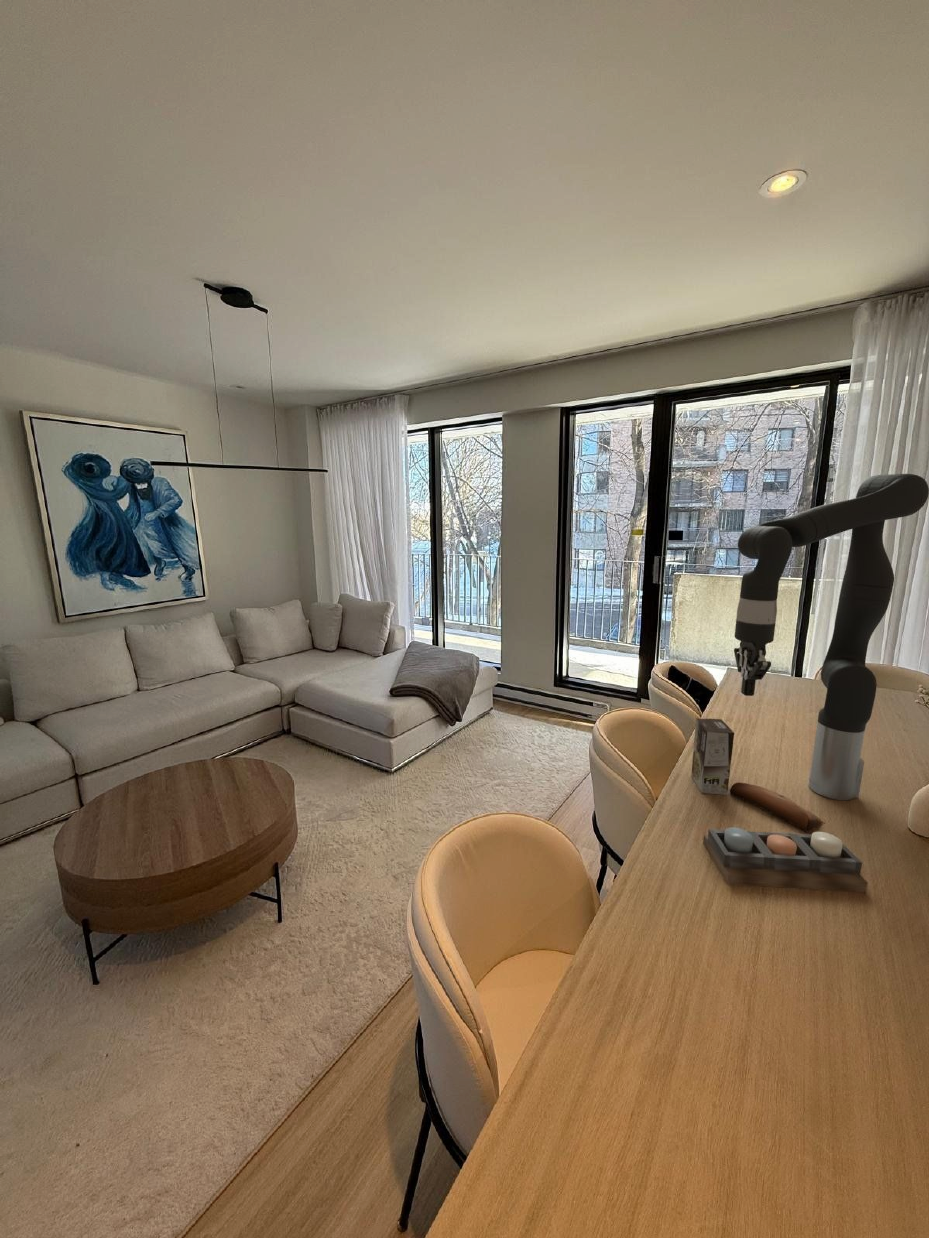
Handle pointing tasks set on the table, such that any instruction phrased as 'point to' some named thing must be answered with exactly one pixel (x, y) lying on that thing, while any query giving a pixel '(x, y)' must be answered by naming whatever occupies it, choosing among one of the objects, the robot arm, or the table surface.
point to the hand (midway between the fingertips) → (747, 694)
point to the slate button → (738, 840)
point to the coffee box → (712, 756)
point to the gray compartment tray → (785, 865)
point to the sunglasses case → (777, 805)
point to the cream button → (826, 845)
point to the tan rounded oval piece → (781, 845)
